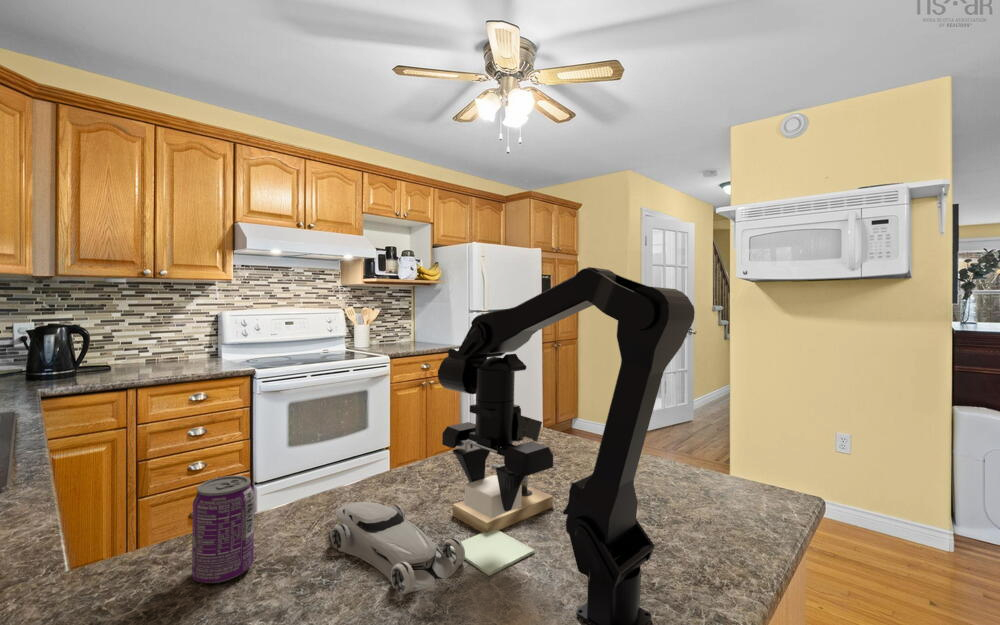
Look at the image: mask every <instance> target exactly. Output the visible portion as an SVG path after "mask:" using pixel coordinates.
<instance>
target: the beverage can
mask: <svg viewBox="0 0 1000 625" xmlns="http://www.w3.org/2000/svg"><path fill="white" fill-rule="evenodd" d="M196 491H197V494H196V496H195V497H194V499H193V502H192V529H191V530H192V531H191V532H192V533H191V534H192V537H191V538H192V540H191V541H192V542H191V544H192V545H191V546H192V547H191V559H192V560H191V577H192V579H193V580H195V581H196V582H199V583H206V584H221V583H224V582H227V581H230V580H233V579H235V578H237V577H239V575H242V574H243V573H245V572H246V571H247V570H249V569H250V568H251V567H252V566H253V564H254V560H255V559H254V552H255V551H254V548H255V544H254V543H255V541H254V539H255V537H254V536H255V535H254V534H255V491H254V489H253V487H252V486H251V478H250V477H248V476H244V475H227V476H226V475H225V476H220V477H215V478H212V479H209V480H207V481H204V482H202V483H201V484H199V485H198V486H197V488H196Z"/></svg>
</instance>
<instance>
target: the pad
mask: <svg viewBox="0 0 1000 625" xmlns="http://www.w3.org/2000/svg"><path fill="white" fill-rule="evenodd" d="M460 542H461V543H462V545H463V547H464V550H465V559H464V561H466V562H467V563H469V564H471V565H472V566H473V567H475V568H476V569H478V570H479V571H481V572H483V573H484V574H485V575H487V576H488V577H489V576H491V575H493V574H496V573H497V572H499V571H501V570H503V569H505V568H507V567H509V566H511V565H513V564H515V563H517V562H519V561H520V560H523V559H525V558H527V557H529V556H530V555H532V554H534V553H535V549H533V548H531V547H530V546H528V545H527V544H524V543H523V542H521V541H519V540H517V539H516V538H513V537H511V536H510V535H507V534H506V533H504V532H502V531H501V530H497V529H495V530H492V531H490V532H488V533H486V532H483V533H482V532H480V533H479V534H476V535H473V536H470V537H469V538H466V539H464V540H462V541H460ZM450 550H451V552H453V553H454V554H456V552H455V549H454V548H453V547H452V546H450Z"/></svg>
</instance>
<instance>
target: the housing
mask: <svg viewBox="0 0 1000 625" xmlns="http://www.w3.org/2000/svg"><path fill="white" fill-rule="evenodd" d="M553 498H554V496H553V495H551V494H549V493H547V492H544V491H542V490H539V489H536V488H534V487H531V486H529V485H528V492H527V493H522V502H521V507H519V508H516V509H514V510H511V511H509V512H506V513H504V514H501V515H499V516H496V517H494V518H490V517H488V516H486V515H484V514H482V513H480V512H478V511H476V510H474V509H472V508H470V507H469V506H467V505H465V499H463V500H461V501H458V502H456V503H452V517H453V518H456V519H457V520H459V521H460V522H463V523H464V524H466V525H468V526H470V527H471V528H473V529H475V530H476V531H477V532H480V533H483V532H486V533H488V532H490V531H492V530H495V529H497V530H499V531H501V530H503V529H505V528H508V527H509V526H512V525H514V524H516V523H519V522H522V521H524V520H526V519H528V518H531V517H533V516H535V515H537V514H540V513H542V512H544V511H547V510H549V509H551V508H553V506H554V505H553V500H554V499H553Z"/></svg>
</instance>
